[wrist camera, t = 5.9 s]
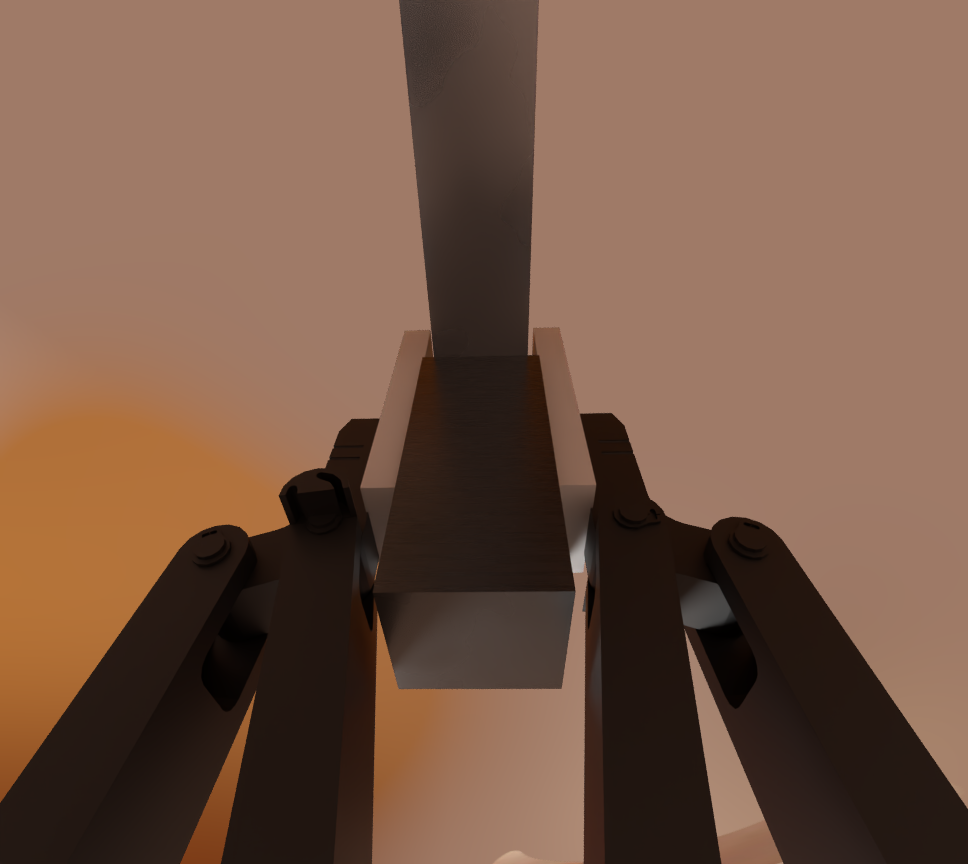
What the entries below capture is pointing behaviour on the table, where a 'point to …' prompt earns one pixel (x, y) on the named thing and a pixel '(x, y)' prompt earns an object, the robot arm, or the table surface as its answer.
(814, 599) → the robot arm
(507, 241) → the grey l-shaped bar
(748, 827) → the table surface
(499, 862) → the table surface
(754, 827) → the table surface
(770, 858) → the table surface
